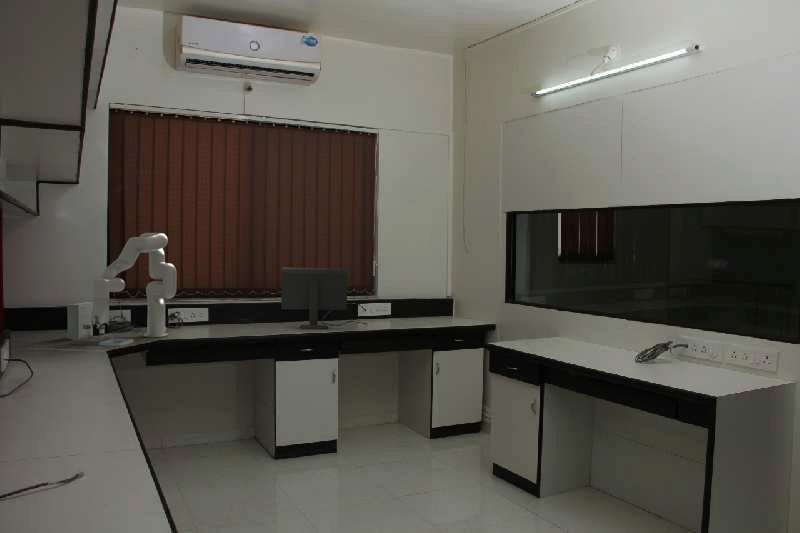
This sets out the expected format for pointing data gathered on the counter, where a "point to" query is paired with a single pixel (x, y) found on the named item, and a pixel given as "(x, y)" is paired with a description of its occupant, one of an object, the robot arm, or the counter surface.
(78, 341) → the fuse holder
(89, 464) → the counter surface
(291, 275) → the computer monitor
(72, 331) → the hard drive box
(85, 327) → the fuse
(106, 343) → the parts tray
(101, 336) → the fuse
